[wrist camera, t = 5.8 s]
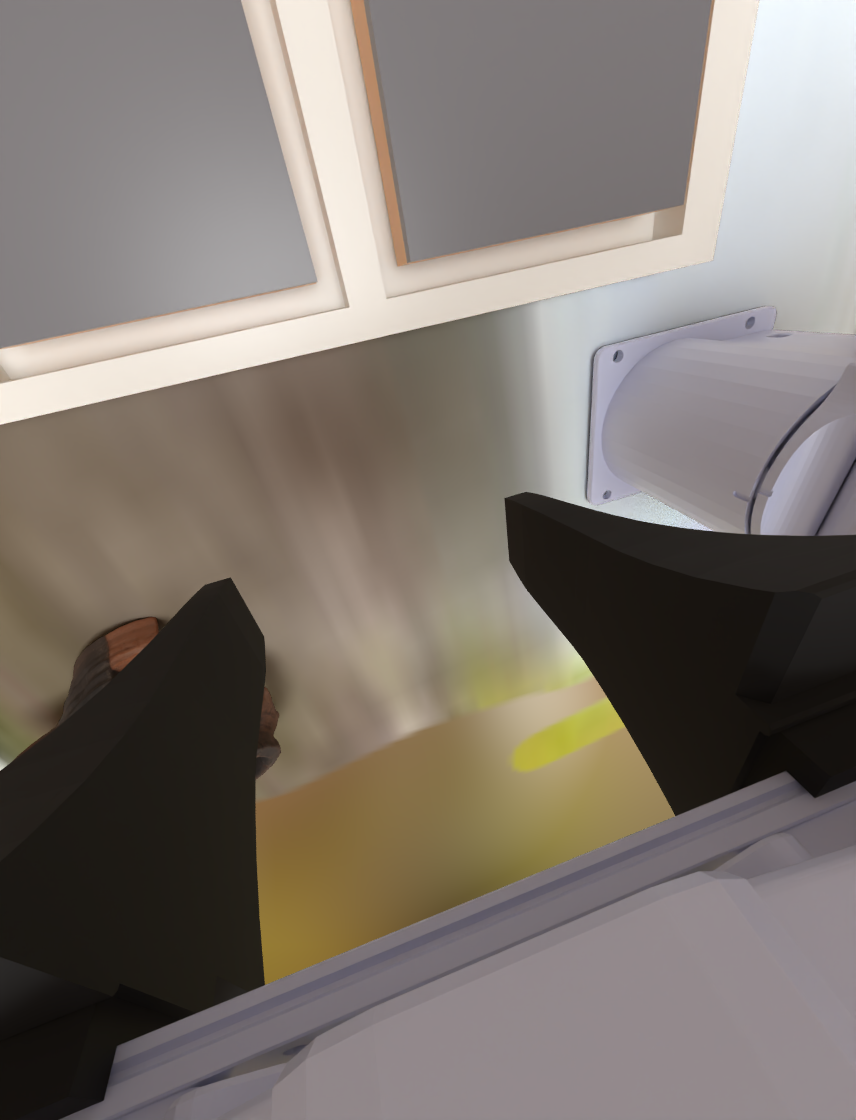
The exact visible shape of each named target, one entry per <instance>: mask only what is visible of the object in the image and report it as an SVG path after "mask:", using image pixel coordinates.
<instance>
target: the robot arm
mask: <svg viewBox="0 0 856 1120" xmlns="http://www.w3.org/2000/svg"><path fill="white" fill-rule="evenodd" d="M776 314H777V311H776V308H775V307H774V306H763V307H759V308H755V309H751V310H747V311H743V312H739V313H735V314H731V315H727V316H723V317H719V318H715V319H711V320H707V321H703V322H699V323H695V324H691V325H687V326H683V327H679V328H675V329H671V330H667V331H663V332H659V333H655V334H651V335H647V336H643V337H639V338H635V339H631V340H627V341H623V342H619V343H615V344H611V345H607V346H604V347H602V348H600V349H599V350H598V351H597V353H596V355H595V358H594V368H593V388H592V408H591V428H590V448H589V468H588V488H587V500H588V501H589V502H590V503H591V504H593V505H599V504H603V503H606V502H609V501H613V500H616V499H619V498H623V497H626V496H629V495H633V494H636V493H639V492H644V493H646V494H648V495H649V496H651V497H653V498H655V499H657V500H658V501H660V502H662V503H664V504H666V505H668V506H669V507H671V508H673V509H675V510H677V511H678V512H680V513H682V514H684V515H686V516H688V517H689V518H691V519H693V520H695V521H697V522H698V523H700V524H702V525H704V526H706V527H707V528H709V529H711V530H713V531H703V530H694V529H686V528H679V527H672V526H666V525H659V524H653V523H648V522H642V521H637V520H633V519H628V518H624V517H620V516H615V515H611V514H607V513H603V512H599V511H596V510H592V509H588V508H585V507H581V506H578V505H574V504H571V503H567V502H564V501H560V500H557V499H554V498H550V497H546V496H543V495H539V494H534V493H529V492H524V493H521V494H517V495H514V496H510V497H507V498H505V510H506V523H507V536H508V549H509V561H510V563H511V565H512V566H513V568H514V570H515V571H516V573H517V575H518V577H519V578H520V580H521V581H522V583H523V585H524V586H525V588H526V589H527V591H528V592H529V593H530V594H531V596H532V597H533V598H534V599H535V601H536V602H537V603H538V604H539V606H540V607H541V608H542V609H543V610H544V612H545V613H546V614H547V615H548V616H549V618H550V619H551V620H552V621H553V623H554V624H555V625H556V626H557V627H558V629H559V630H560V631H561V632H562V633H563V635H564V636H565V637H566V638H567V639H568V641H569V642H570V643H571V644H572V646H573V647H574V648H575V650H576V651H577V652H578V654H579V655H580V656H581V658H582V659H583V660H584V662H585V663H586V665H587V666H588V668H589V669H590V671H591V672H592V674H593V676H594V677H595V679H596V680H597V681H598V683H599V685H600V686H601V688H602V689H603V691H604V692H605V694H606V696H607V697H608V699H609V701H610V702H611V704H612V705H613V707H614V709H615V710H616V712H617V713H618V715H619V717H620V718H621V720H622V722H623V723H624V725H625V727H626V728H627V730H628V732H629V733H630V735H631V737H632V739H633V740H634V742H635V744H636V745H637V747H638V749H639V751H640V752H641V754H642V756H643V757H644V759H645V761H646V762H647V764H648V766H649V768H650V770H651V772H652V773H653V775H654V777H655V779H656V781H657V783H658V784H659V786H660V788H661V790H662V792H663V793H664V795H665V797H666V799H667V801H668V803H669V805H670V806H671V808H672V810H673V812H674V814H675V817H673V818H670V819H668V820H665V821H663V822H660V823H658V824H656V825H653V826H651V827H648V828H646V829H643V830H641V831H639V832H636V833H634V834H631V835H629V836H626V837H624V838H622V839H619V840H617V841H614V842H612V843H609V844H607V845H605V846H602V847H600V848H597V849H595V850H592V851H590V852H588V853H585V854H583V855H580V856H578V857H575V858H573V859H571V860H568V861H566V862H563V863H561V864H558V865H556V866H553V867H551V868H549V869H546V870H544V871H541V872H539V873H536V874H534V875H532V876H529V877H527V878H524V879H522V880H519V881H517V882H515V883H512V884H510V885H507V886H505V887H503V888H500V889H498V890H495V891H493V892H490V893H488V894H485V895H483V896H480V897H478V898H476V899H473V900H471V901H469V902H466V903H463V904H461V905H459V906H456V907H454V908H451V909H449V910H446V911H445V912H442V913H439V914H437V915H434V916H432V917H429V918H427V919H425V920H422V921H420V922H417V923H415V924H413V925H410V926H408V927H405V928H403V929H401V930H398V931H395V932H393V933H391V934H388V935H386V936H383V937H381V938H378V939H376V940H373V941H371V942H369V943H366V944H364V945H361V946H359V947H357V948H354V949H352V950H350V951H347V952H344V953H342V954H339V955H337V956H335V957H332V958H330V959H327V960H325V961H323V962H320V963H318V964H315V965H313V966H311V967H308V968H305V969H303V970H301V971H298V972H296V973H293V974H291V975H288V976H286V977H284V978H281V979H279V980H276V981H274V982H271V983H269V984H267V985H265V981H264V970H263V956H262V946H261V945H262V944H261V931H260V920H259V904H258V903H259V900H258V881H257V862H256V824H255V823H256V821H255V772H256V757H257V747H258V739H259V730H260V721H261V712H262V703H263V694H264V685H265V674H266V663H265V642H264V636H263V634H262V632H261V630H260V629H259V627H258V625H257V623H256V622H255V620H254V618H253V616H252V614H251V613H250V611H249V609H248V607H247V606H246V604H245V602H244V600H243V599H242V597H241V595H240V593H239V591H238V590H237V588H236V586H235V584H234V583H233V581H232V579H231V578H227V579H224V580H220V581H217V582H213V583H210V584H207V585H205V586H203V587H202V588H201V589H200V590H199V591H198V592H197V593H196V594H195V595H194V596H193V597H192V598H191V599H190V600H189V601H188V602H187V603H186V604H185V605H184V606H183V607H182V608H181V609H180V610H179V611H178V613H177V614H176V615H175V616H174V617H173V618H172V619H171V620H170V621H169V622H168V623H167V624H166V625H165V627H164V628H163V629H162V630H161V631H160V632H159V633H158V634H157V635H156V636H155V637H154V638H153V639H152V640H151V641H150V643H149V644H148V645H147V646H146V647H145V648H144V649H143V650H142V651H141V652H140V653H139V654H138V655H137V656H136V657H134V658H133V659H132V660H131V661H130V662H129V663H128V664H127V665H126V666H125V667H124V668H123V669H122V670H121V671H120V672H119V673H118V674H117V675H116V676H115V677H114V678H113V679H112V680H111V681H110V682H109V683H108V684H107V685H106V686H105V687H104V688H103V689H101V690H100V691H99V692H98V693H97V694H96V695H95V696H94V697H93V698H91V699H90V700H89V701H88V702H87V703H86V704H84V705H83V706H82V707H81V708H80V709H79V710H77V711H76V712H75V713H74V714H73V715H71V716H70V717H69V718H68V719H67V720H66V721H64V722H63V723H62V724H61V725H59V726H58V727H57V728H56V729H54V730H53V731H52V732H51V733H49V734H48V735H47V736H45V737H44V738H43V739H41V740H40V741H39V742H37V743H36V744H35V745H34V746H32V747H31V748H30V749H28V750H27V751H26V752H24V753H23V754H22V755H20V756H19V757H18V758H17V759H15V760H14V761H13V762H11V763H10V764H9V765H7V766H6V767H5V768H3V769H2V770H1V771H0V1120H856V335H854V334H836V333H819V332H802V331H784V330H773V327H774V323H775V319H776ZM747 320H748V322H747V324H746V321H747ZM745 324H746V326H745ZM616 351H618V356H617V358H616V360H615V361H613V356H614V354H615V352H616ZM606 491H607V493H606V494H605V495H604V496H603V494H604V493H605V492H606ZM714 531H715V532H714Z"/></svg>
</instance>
